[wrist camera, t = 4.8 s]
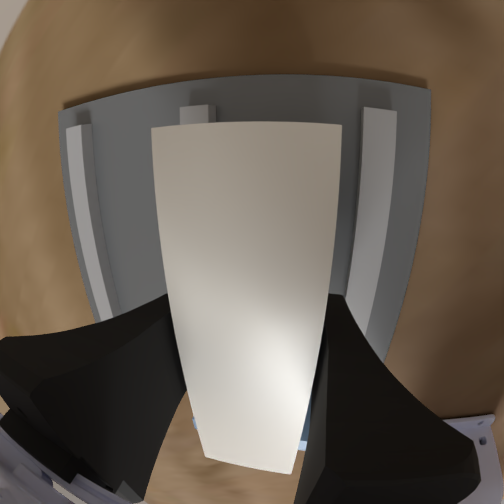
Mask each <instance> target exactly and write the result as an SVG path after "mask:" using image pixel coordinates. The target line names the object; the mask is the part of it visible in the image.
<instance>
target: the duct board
mask: <svg viewBox="0 0 504 504" xmlns="http://www.w3.org/2000/svg"><path fill="white" fill-rule="evenodd" d="M58 120H59V140H60V154H61V165H62V174H63V182H64V190H65V197H66V203H67V209H68V215H69V221H70V226H71V231H72V236H73V241H74V246H75V250H76V255H77V259H78V263H79V267H80V271H81V275H82V279H83V282H84V286H85V290H86V293H87V296H88V300H89V303H90V306H91V310H92V313H93V316H94V319H95V322H96V323H98V322H101V321H104V320H107V319H110V318H113V317H116V316H118V315H121V314H123V313H126V312H128V311H131V310H133V309H135V308H137V307H139V306H141V305H144V304H146V303H148V302H150V301H152V300H154V299H156V298H158V297H160V296H162V295H164V294H166V293H168V291H167V285H166V279H165V272H164V265H163V258H162V251H161V243H160V235H159V226H158V217H157V207H156V196H155V185H154V172H153V156H152V137H151V128H155V127H164V126H174V125H186V124H199V123H217V122H252V121H272V122H307V123H324V124H338V125H342V139H341V163H340V181H339V196H338V209H337V221H336V231H335V241H334V251H333V260H332V268H331V276H330V284H329V291H328V293H330V294H341V295H343V297H344V298H345V300H346V303H347V305H348V307H349V309H350V311H351V313H352V315H353V317H354V319H355V321H356V323H357V324H358V326H359V328H360V329H361V331H362V333H363V335H364V336H365V338H366V339H367V341H368V342H369V344H370V345H371V347H372V348H373V350H374V351H375V353H376V354H377V356H378V357H379V358H380V360H381V361H382V362H383V363H384V360H385V357H386V355H387V352H388V349H389V346H390V343H391V340H392V337H393V334H394V331H395V328H396V324H397V321H398V318H399V314H400V311H401V307H402V304H403V300H404V297H405V293H406V289H407V285H408V281H409V277H410V273H411V268H412V264H413V260H414V255H415V250H416V245H417V240H418V235H419V229H420V223H421V217H422V211H423V204H424V197H425V189H426V181H427V171H428V160H429V147H430V127H431V90H430V89H425V88H420V87H415V86H410V85H404V84H398V83H392V82H385V81H378V80H370V79H362V78H352V77H340V76H326V75H299V74H273V75H245V76H230V77H219V78H209V79H200V80H192V81H184V82H178V83H171V84H165V85H159V86H154V87H149V88H144V89H139V90H134V91H129V92H125V93H121V94H117V95H113V96H109V97H105V98H101V99H97V100H94V101H90V102H87V103H84V104H80V105H77V106H74V107H71V108H68V109H65V110H62V111H59V112H58ZM311 395H312V390H311ZM311 395H310V400H309V404H308V409H307V413H306V417H305V422H304V426H303V430H302V434H301V438H300V442H299V446H298V450H304V451H306V445H307V440H308V435H309V427H310V414H311ZM192 419H193V423H194V426H195V429H197V426H196V422H195V418H194V416H193V418H192Z"/></svg>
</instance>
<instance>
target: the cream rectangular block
mask: <svg viewBox="0 0 504 504" xmlns="http://www.w3.org/2000/svg"><path fill="white" fill-rule="evenodd" d="M151 137H152V156H153V172H154V185H155V196H156V207H157V217H158V226H159V235H160V243H161V251H162V258H163V265H164V272H165V279H166V285H167V291H168V298H169V303H170V309H171V315H172V320H173V326H174V331H175V336H176V341H177V346H178V351H179V356H180V360H181V365H182V369H183V374H184V378H185V382H186V387H187V391H188V395H189V399H190V403H191V407H192V411H193V415H194V418H195V422H196V426H197V429H198V433H199V436H200V440H201V443H202V447H203V450H204V453H205V457H208V458H212V459H216V460H219V461H223V462H227V463H232V464H236V465H241V466H245V467H250V468H255V469H260V470H266V471H272V472H278V473H285V474H291V472H292V469H293V465H294V461H295V458H296V454H297V450H298V446H299V442H300V438H301V434H302V430H303V426H304V422H305V417H306V413H307V409H308V404H309V400H310V395H311V390H312V385H313V380H314V375H315V370H316V365H317V360H318V354H319V349H320V343H321V337H322V331H323V325H324V319H325V312H326V305H327V299H328V291H329V284H330V276H331V268H332V260H333V251H334V241H335V231H336V221H337V209H338V196H339V181H340V163H341V139H342V125H338V124H324V123H307V122H272V121H252V122H217V123H199V124H186V125H174V126H164V127H155V128H151Z"/></svg>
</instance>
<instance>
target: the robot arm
mask: <svg viewBox="0 0 504 504" xmlns="http://www.w3.org/2000/svg"><path fill="white" fill-rule="evenodd" d="M186 390H187V387H186V382H185V378H184V374H183V369H182V365H181V360H180V356H179V351H178V346H177V341H176V336H175V331H174V326H173V320H172V315H171V309H170V303H169V298H168V293H166V294H164V295H162V296H160V297H158V298H156V299H154V300H152V301H150V302H148V303H146V304H144V305H141V306H139V307H137V308H135V309H133V310H131V311H128V312H126V313H123V314H121V315H118V316H116V317H113V318H110V319H107V320H104V321H101V322H98V323H95V324H91V325H87V326H83V327H80V328H76V329H72V330H67V331H62V332H57V333H50V334H43V335H33V336H15V337H5V338H3V339H2V340H0V395H1V397H2V398H3V400H4V401H5V402H6V404H7V405H8V407H9V408H10V409H9V410H8V412H7V413H6V414H5V415H4V416H3V415H2V414H1V413H0V504H74V503H73V502H71V501H70V500H69V499H67V498H66V497H65V496H63V495H62V494H61V493H59V492H58V491H57V490H55V489H54V488H53V482H52V480H53V481H55V482H56V483H57V484H59V485H60V486H61V487H63V488H64V489H66V490H67V491H69V492H70V493H72V494H73V495H75V496H76V497H78V498H79V499H81V500H82V501H84V502H85V503H87V504H133V503H138V502H141V501H143V500H144V496H145V493H146V489H147V486H148V483H149V480H150V476H151V473H152V470H153V467H154V464H155V461H156V459H157V456H158V453H159V450H160V448H161V445H162V443H163V440H164V438H165V435H166V432H167V430H168V428H169V425H170V423H171V421H172V418H173V416H174V414H175V411H176V409H177V407H178V405H179V403H180V401H181V399H182V397H183V396H184V394H185V392H186ZM494 420H495V416H494V414H490V415H483V416H476V417H468V418H458V419H447V420H442V419H440V418H439V417H438V416H437V415H435V414H434V413H433V412H432V411H430V410H429V409H428V408H427V407H425V406H424V405H423V404H422V403H421V402H420V401H419V400H417V399H416V398H415V397H414V396H413V395H412V394H411V393H410V392H409V391H408V390H407V389H406V388H405V387H404V386H403V385H402V384H401V383H400V382H399V381H398V380H397V379H396V378H395V377H394V376H393V374H392V373H391V372H390V371H389V370H388V368H387V367H386V366H385V365H384V364H383V362H382V361H381V360H380V358H379V357H378V356H377V354H376V353H375V351H374V350H373V348H372V347H371V345H370V344H369V342H368V341H367V339H366V338H365V336H364V335H363V333H362V331H361V329H360V328H359V326H358V324H357V323H356V321H355V319H354V317H353V315H352V313H351V311H350V309H349V307H348V305H347V303H346V300H345V298H344V297H343V295H341V294H330V293H328V299H327V305H326V312H325V319H324V325H323V331H322V337H321V343H320V349H319V354H318V360H317V365H316V370H315V375H314V380H313V385H312V395H311V414H310V427H309V435H308V440H307V445H306V451H305V456H304V461H303V466H302V470H301V475H300V479H299V484H298V488H297V492H296V496H295V500H294V504H501V501H502V497H503V486H504V484H503V477H502V472H501V467H500V462H499V457H498V453H497V449H496V444H495V441H494V437H493V433H492V429H491V426H490V425H491V424H492V423H493V422H494ZM51 479H52V480H51Z"/></svg>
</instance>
